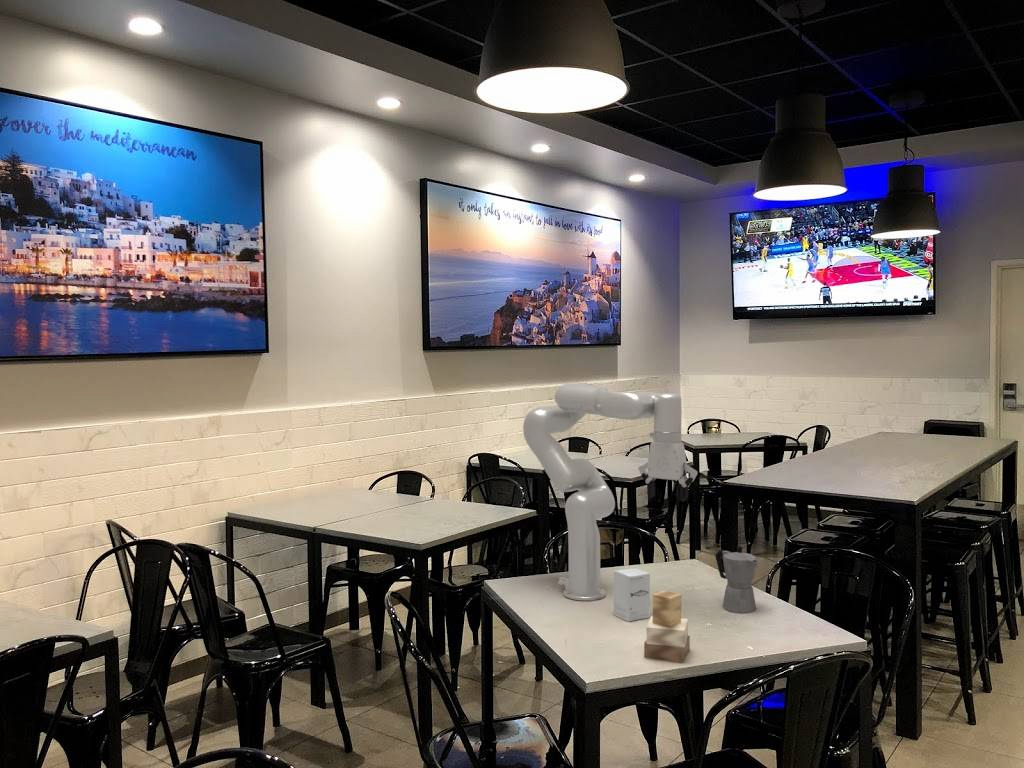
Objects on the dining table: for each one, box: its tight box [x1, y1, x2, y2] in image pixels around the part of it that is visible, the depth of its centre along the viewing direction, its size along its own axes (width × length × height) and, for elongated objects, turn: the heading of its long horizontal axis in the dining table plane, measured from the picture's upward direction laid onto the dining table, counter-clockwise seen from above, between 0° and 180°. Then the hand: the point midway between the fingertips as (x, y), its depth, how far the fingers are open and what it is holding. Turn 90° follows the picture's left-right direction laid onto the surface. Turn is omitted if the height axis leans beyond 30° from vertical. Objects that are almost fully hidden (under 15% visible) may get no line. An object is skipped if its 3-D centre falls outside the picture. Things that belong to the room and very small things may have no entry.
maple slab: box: [646, 615, 689, 647], centre depth 203 cm, size 9×9×4 cm
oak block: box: [652, 589, 682, 628], centre depth 203 cm, size 5×5×7 cm
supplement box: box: [613, 567, 651, 623], centre depth 231 cm, size 7×7×13 cm
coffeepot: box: [715, 545, 760, 614], centre depth 239 cm, size 15×9×18 cm, turn 33°
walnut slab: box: [643, 635, 691, 664], centre depth 203 cm, size 9×9×4 cm
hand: (667, 498), depth 233 cm, fingers open, 9 cm apart
